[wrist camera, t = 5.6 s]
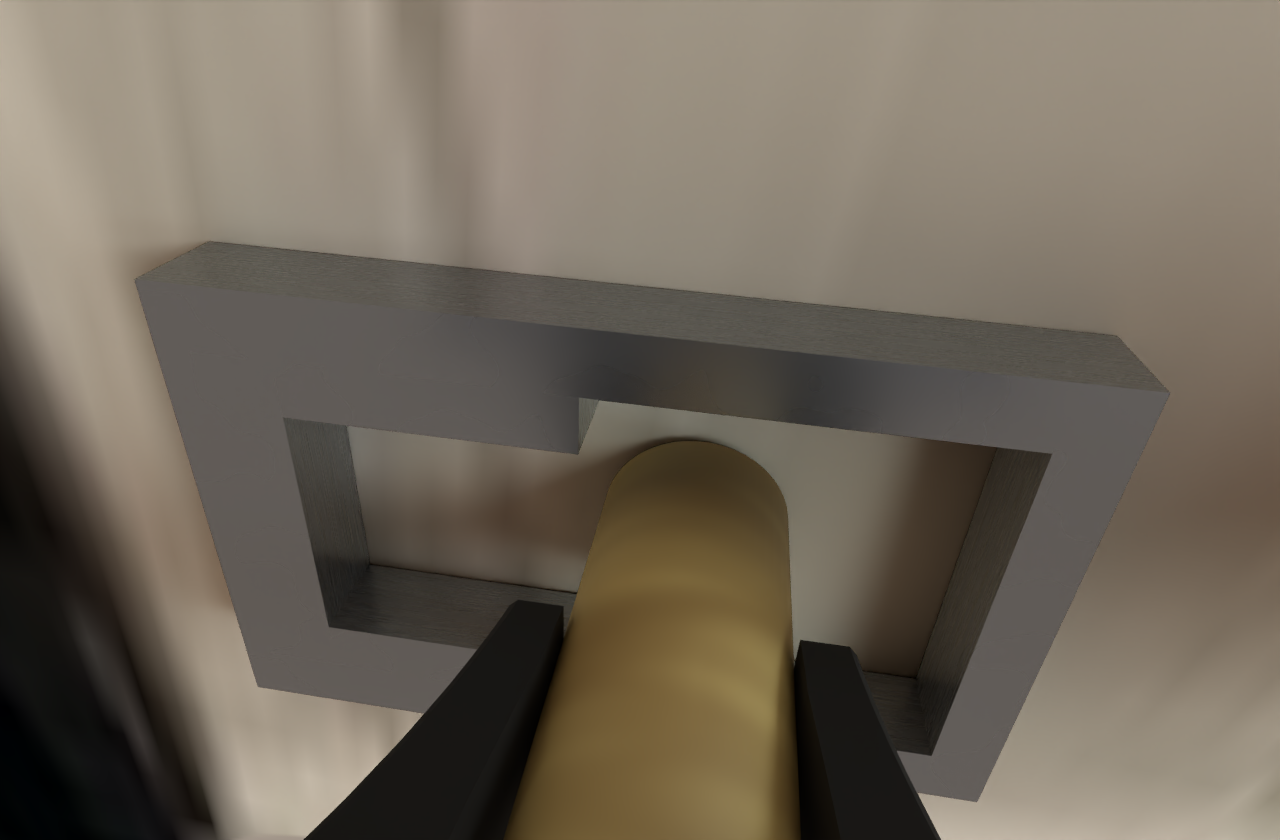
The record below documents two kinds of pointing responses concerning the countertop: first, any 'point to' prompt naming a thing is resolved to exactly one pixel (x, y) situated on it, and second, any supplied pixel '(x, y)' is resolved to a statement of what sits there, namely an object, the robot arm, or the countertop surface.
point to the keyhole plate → (558, 421)
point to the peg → (674, 665)
